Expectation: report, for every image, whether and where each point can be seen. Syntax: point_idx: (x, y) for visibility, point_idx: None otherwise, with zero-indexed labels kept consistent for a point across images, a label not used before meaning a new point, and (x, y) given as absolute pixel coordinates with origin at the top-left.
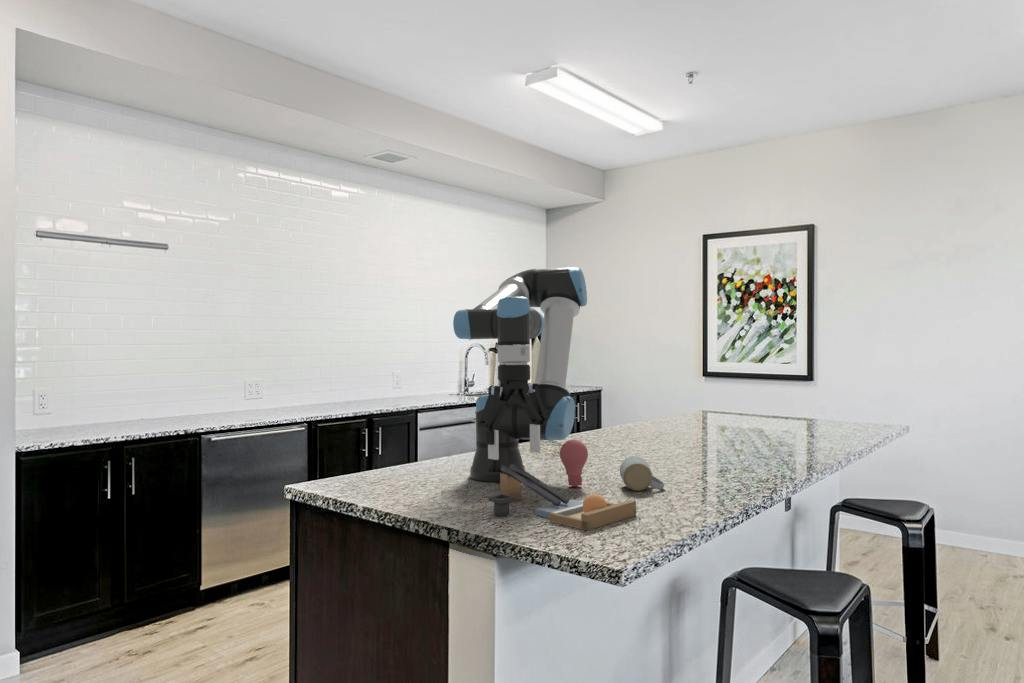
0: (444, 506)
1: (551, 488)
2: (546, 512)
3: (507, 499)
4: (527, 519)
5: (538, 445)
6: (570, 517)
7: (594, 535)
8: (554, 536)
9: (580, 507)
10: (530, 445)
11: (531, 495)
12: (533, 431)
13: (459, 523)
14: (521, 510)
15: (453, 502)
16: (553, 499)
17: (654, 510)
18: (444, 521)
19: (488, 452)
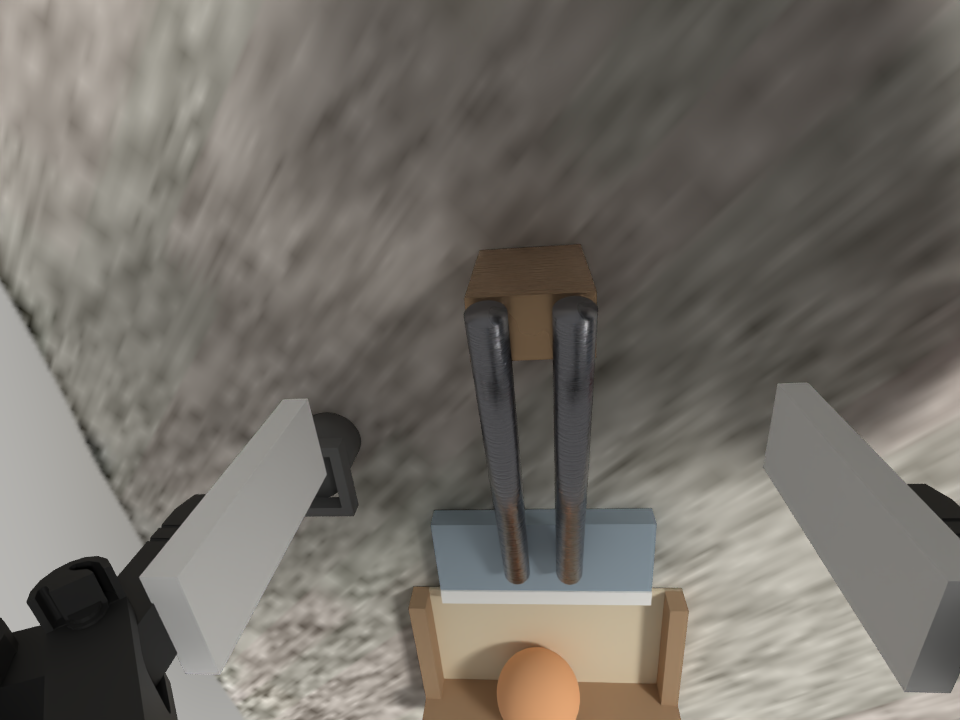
0: (182, 144)
1: (567, 539)
2: (438, 566)
3: (311, 514)
4: (372, 530)
5: (794, 507)
6: (428, 665)
7: (416, 714)
8: (326, 666)
9: (575, 603)
10: (801, 418)
11: (688, 267)
12: (873, 560)
13: (140, 421)
14: (437, 438)
15: (259, 96)
16: (505, 570)
17: (771, 701)
18: (97, 365)
19: (263, 429)
